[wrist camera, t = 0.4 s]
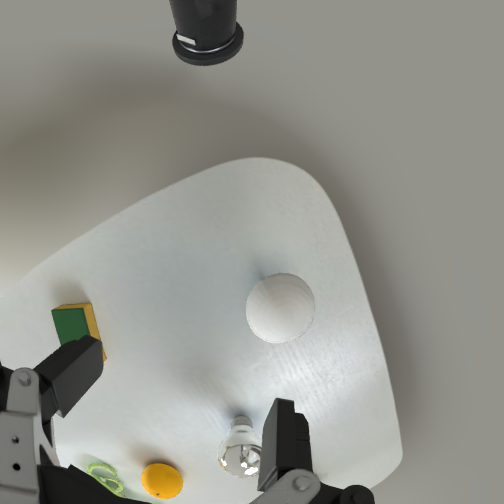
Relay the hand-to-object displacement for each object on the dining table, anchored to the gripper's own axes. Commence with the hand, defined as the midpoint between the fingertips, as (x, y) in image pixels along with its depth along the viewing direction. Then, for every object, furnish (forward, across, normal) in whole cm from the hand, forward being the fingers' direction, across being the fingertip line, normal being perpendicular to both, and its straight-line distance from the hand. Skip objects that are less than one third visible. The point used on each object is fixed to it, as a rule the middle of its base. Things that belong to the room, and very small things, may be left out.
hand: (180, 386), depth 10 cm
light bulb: (+22, -6, +25) cm, 34 cm away
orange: (+17, +5, +44) cm, 47 cm away
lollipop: (+25, -3, +3) cm, 25 cm away
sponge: (+20, +21, +17) cm, 33 cm away
